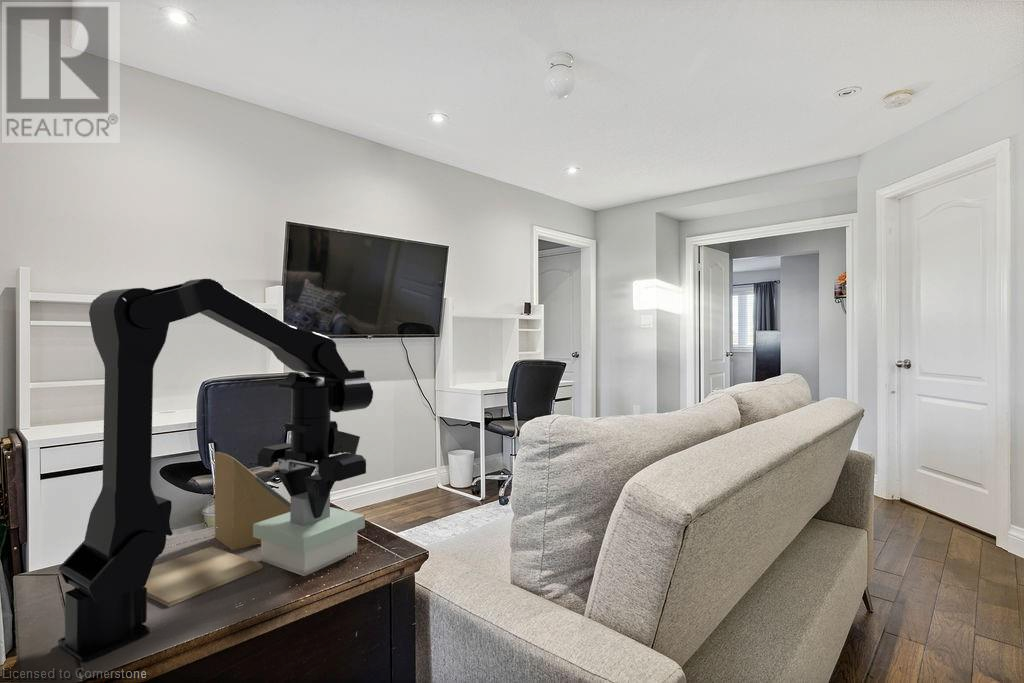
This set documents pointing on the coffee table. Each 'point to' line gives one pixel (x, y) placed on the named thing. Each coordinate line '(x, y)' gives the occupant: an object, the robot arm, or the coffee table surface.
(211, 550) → the cork mat
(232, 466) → the wooden ramp
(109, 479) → the robot arm
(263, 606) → the coffee table surface
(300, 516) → the lid
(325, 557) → the storage box
